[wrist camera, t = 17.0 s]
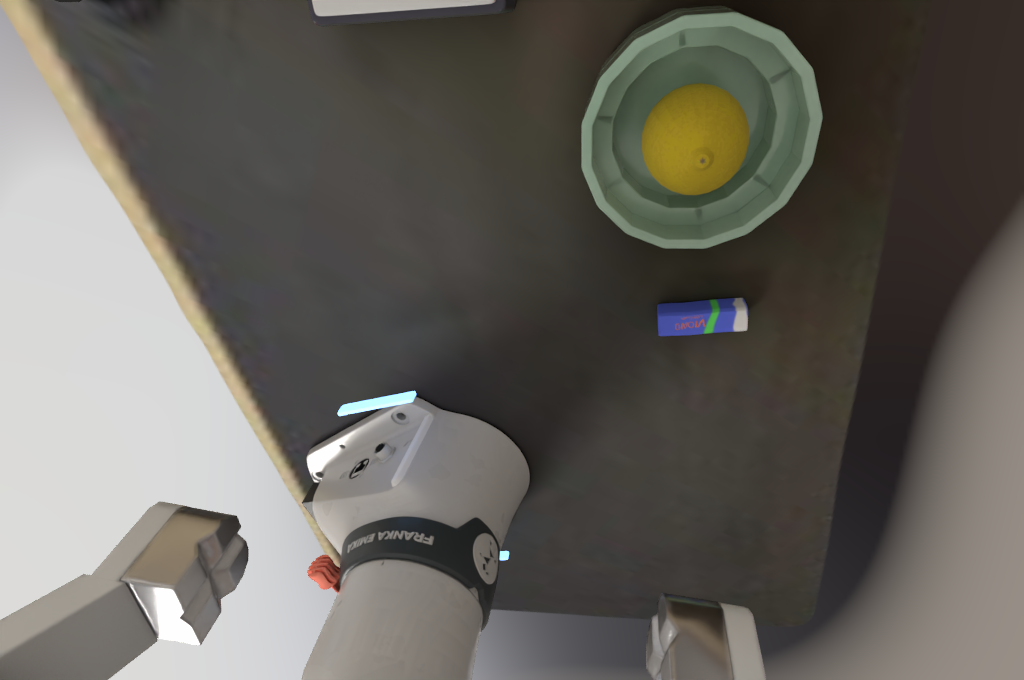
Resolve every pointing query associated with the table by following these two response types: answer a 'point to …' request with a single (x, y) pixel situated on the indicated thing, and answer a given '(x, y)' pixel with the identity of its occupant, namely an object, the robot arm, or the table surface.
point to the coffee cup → (68, 0)
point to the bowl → (709, 60)
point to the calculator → (400, 10)
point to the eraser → (702, 317)
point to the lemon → (695, 139)
